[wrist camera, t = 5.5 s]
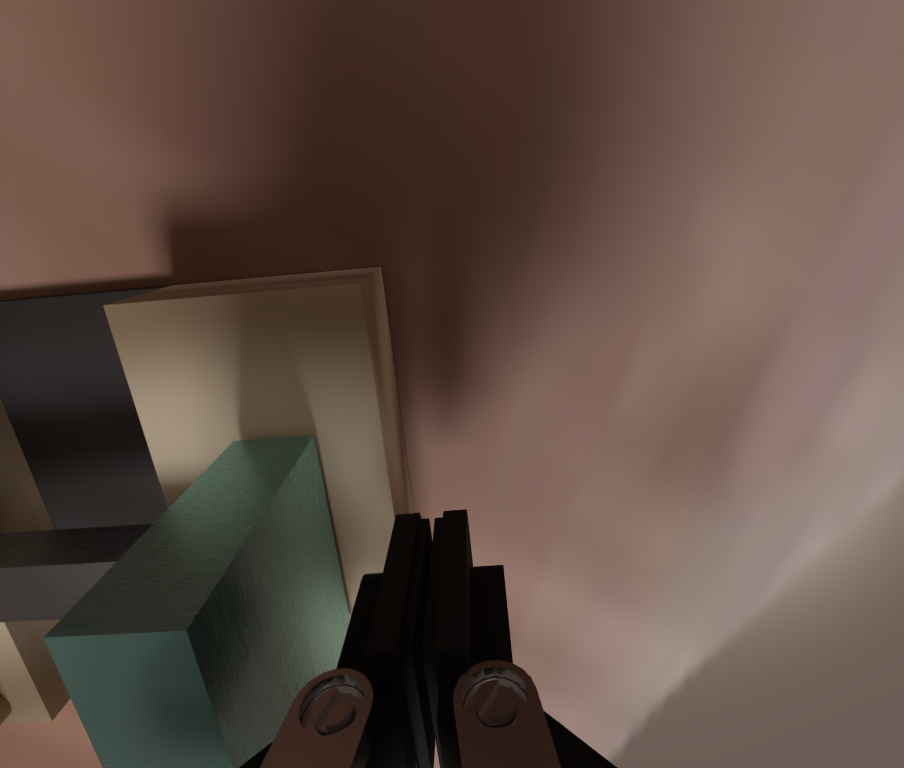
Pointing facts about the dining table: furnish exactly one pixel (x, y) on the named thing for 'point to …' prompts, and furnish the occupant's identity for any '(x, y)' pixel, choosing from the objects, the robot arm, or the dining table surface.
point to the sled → (191, 610)
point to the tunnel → (190, 417)
